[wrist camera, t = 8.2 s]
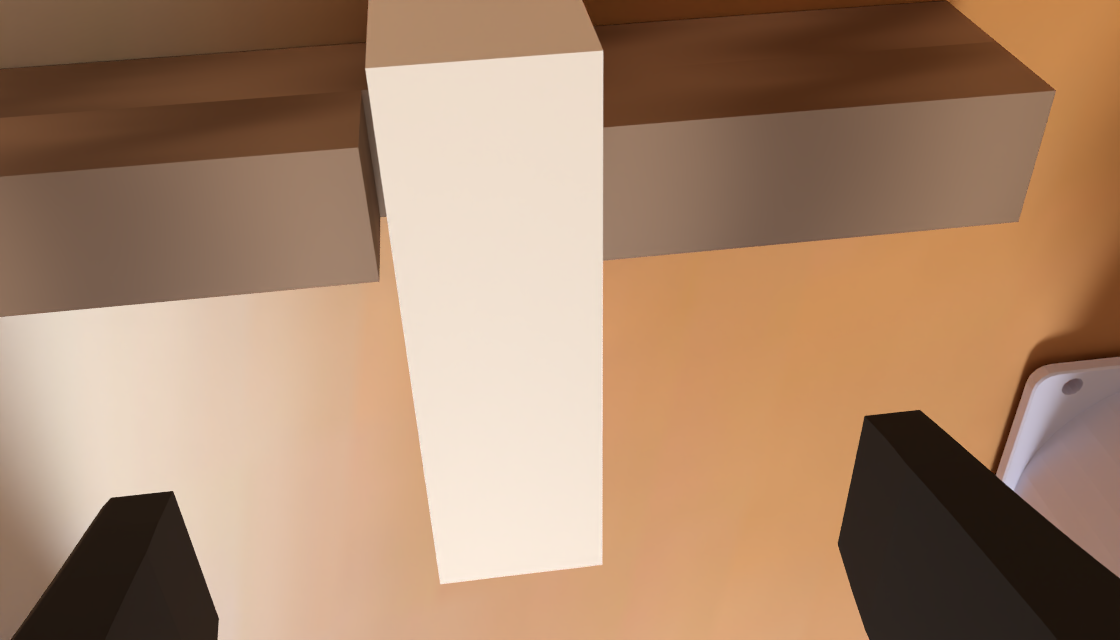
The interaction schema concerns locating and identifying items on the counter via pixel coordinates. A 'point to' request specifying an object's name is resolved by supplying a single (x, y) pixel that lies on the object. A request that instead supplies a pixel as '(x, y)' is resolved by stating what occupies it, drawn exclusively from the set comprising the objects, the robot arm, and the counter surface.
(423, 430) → the cream rectangular block
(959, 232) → the counter surface
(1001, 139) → the walnut slotted plate
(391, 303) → the counter surface
